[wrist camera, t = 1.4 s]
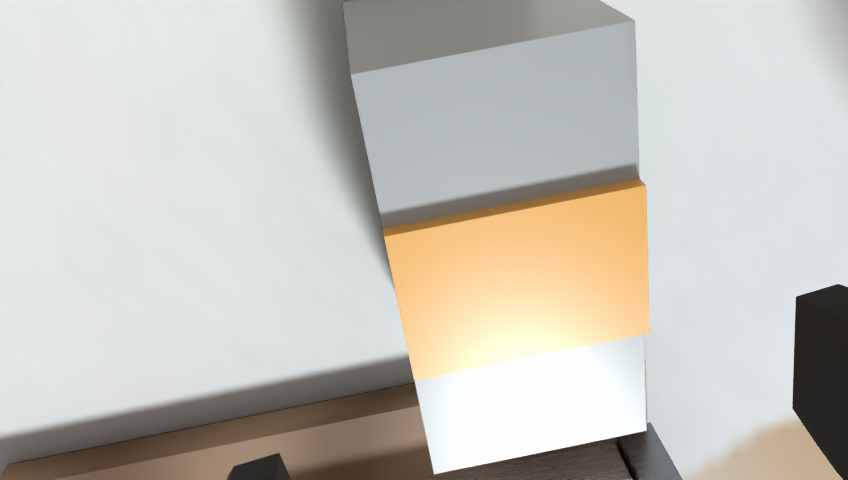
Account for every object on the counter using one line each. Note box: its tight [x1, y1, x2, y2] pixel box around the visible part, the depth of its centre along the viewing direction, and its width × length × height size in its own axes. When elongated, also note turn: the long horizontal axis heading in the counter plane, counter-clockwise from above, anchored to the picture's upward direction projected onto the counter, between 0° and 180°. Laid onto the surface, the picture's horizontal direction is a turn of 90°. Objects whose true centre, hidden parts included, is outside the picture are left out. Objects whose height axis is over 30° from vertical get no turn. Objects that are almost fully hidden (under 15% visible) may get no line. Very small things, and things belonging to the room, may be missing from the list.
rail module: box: [343, 0, 650, 474], centre depth 16 cm, size 4×8×6 cm, turn 9°
